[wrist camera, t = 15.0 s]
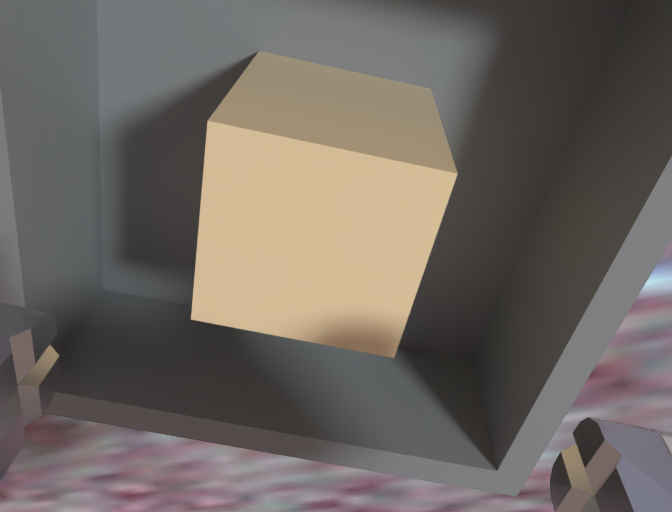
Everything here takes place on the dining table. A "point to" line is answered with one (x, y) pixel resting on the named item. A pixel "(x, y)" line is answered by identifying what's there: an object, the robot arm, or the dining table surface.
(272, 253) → the tan block
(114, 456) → the dining table surface
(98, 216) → the bin
